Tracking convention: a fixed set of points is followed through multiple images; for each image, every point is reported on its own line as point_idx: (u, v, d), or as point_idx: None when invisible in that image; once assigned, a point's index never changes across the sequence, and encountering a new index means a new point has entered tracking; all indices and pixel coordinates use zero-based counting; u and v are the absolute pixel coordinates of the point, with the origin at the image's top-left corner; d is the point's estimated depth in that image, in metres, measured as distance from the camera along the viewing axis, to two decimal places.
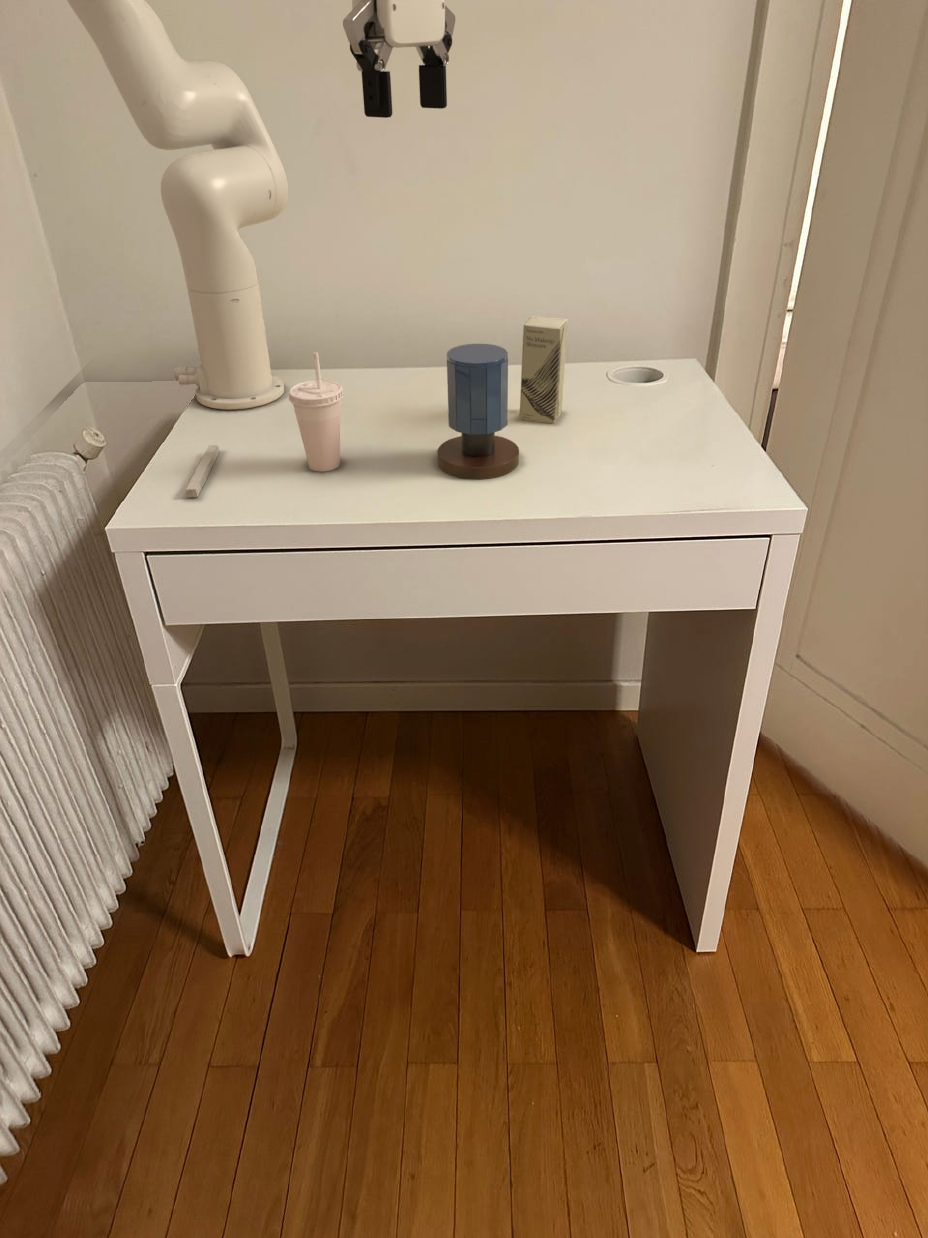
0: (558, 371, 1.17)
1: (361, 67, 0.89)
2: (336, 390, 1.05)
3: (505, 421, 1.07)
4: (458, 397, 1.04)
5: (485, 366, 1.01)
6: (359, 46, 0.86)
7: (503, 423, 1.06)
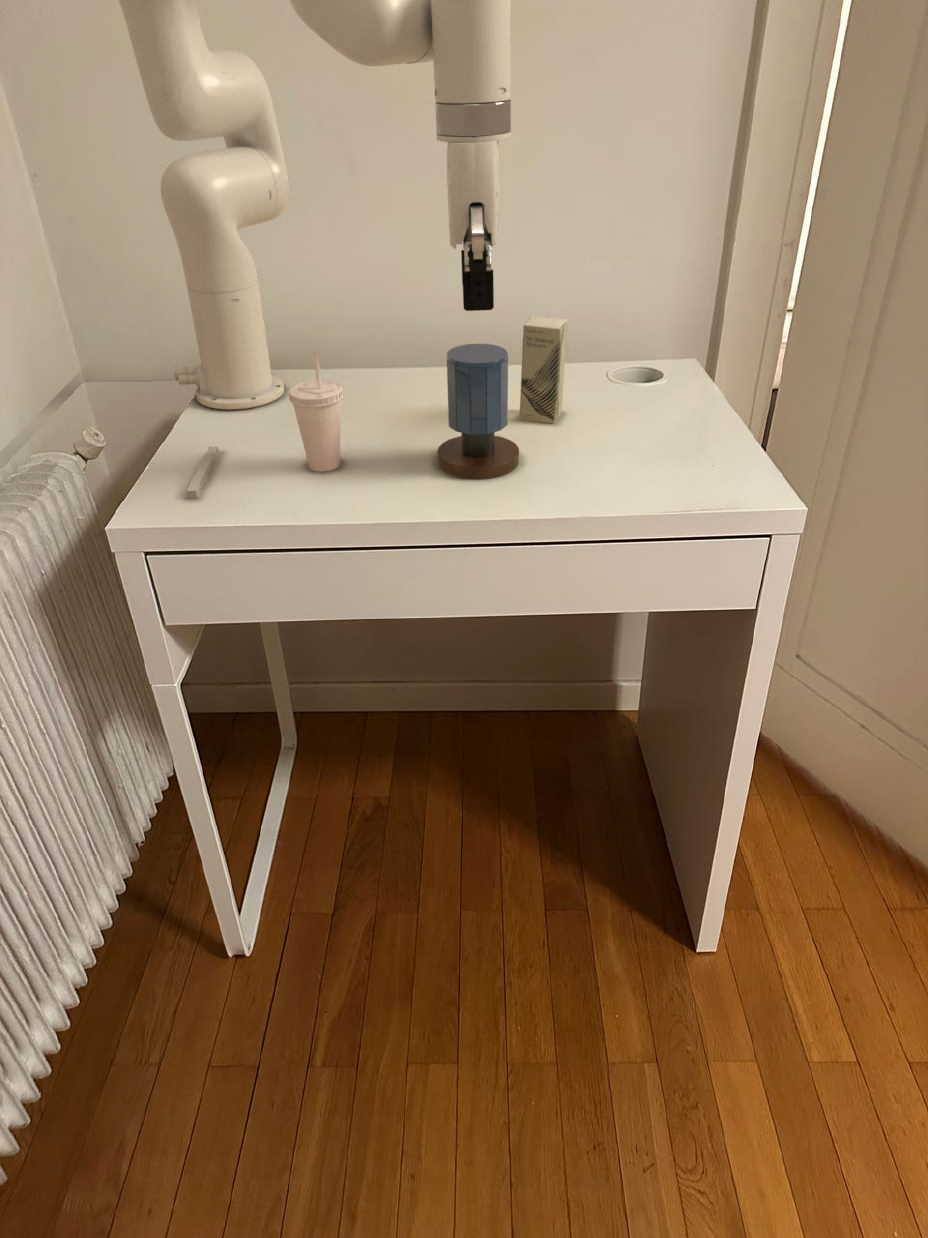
0: (558, 371, 1.17)
1: (470, 270, 0.92)
2: (336, 390, 1.05)
3: (505, 421, 1.07)
4: (458, 397, 1.04)
5: (485, 366, 1.01)
6: (482, 254, 0.90)
7: (503, 423, 1.06)
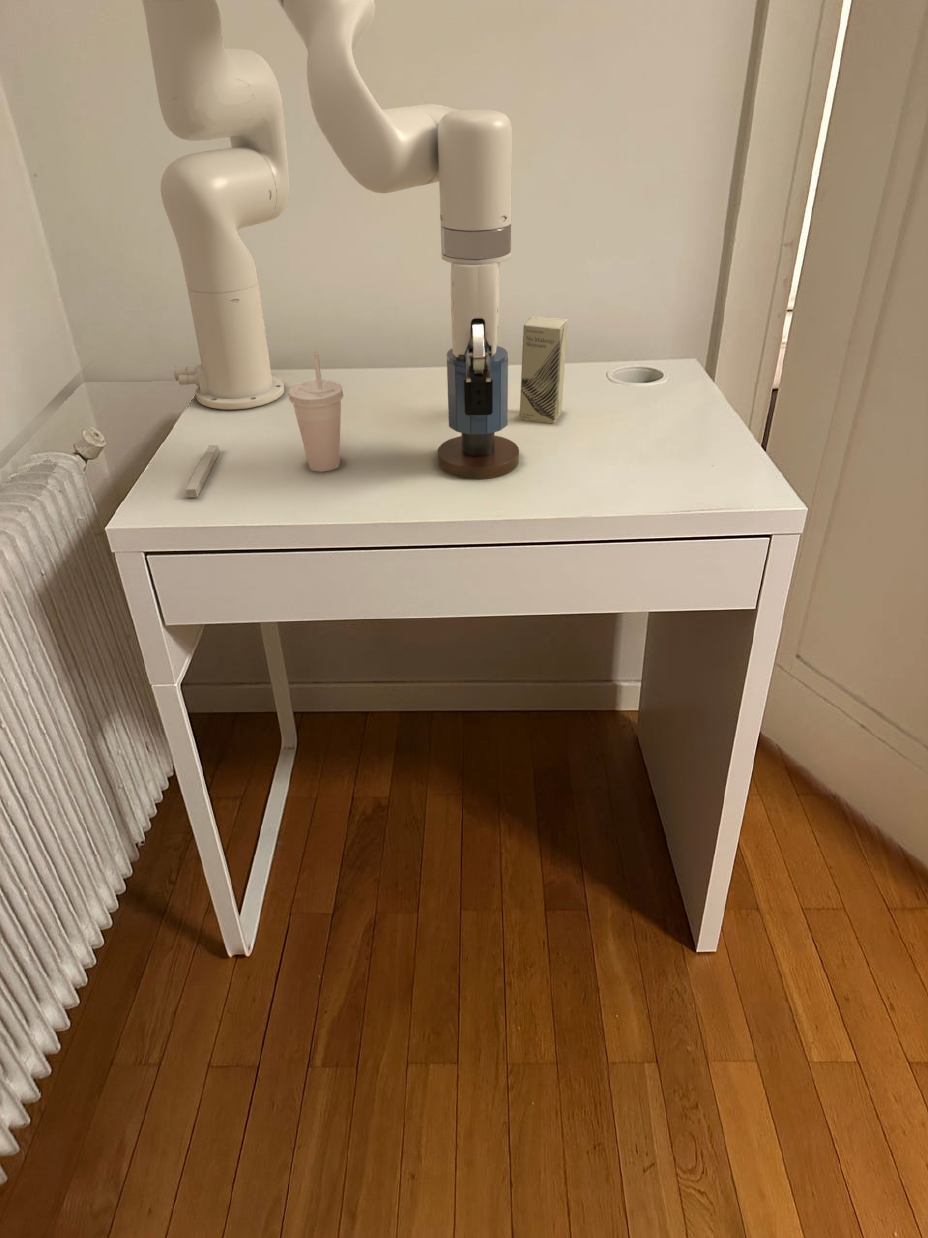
0: (558, 371, 1.17)
1: (471, 381, 1.00)
2: (336, 390, 1.05)
3: (505, 421, 1.07)
4: (458, 397, 1.03)
5: None
6: (483, 371, 0.98)
7: (503, 423, 1.06)
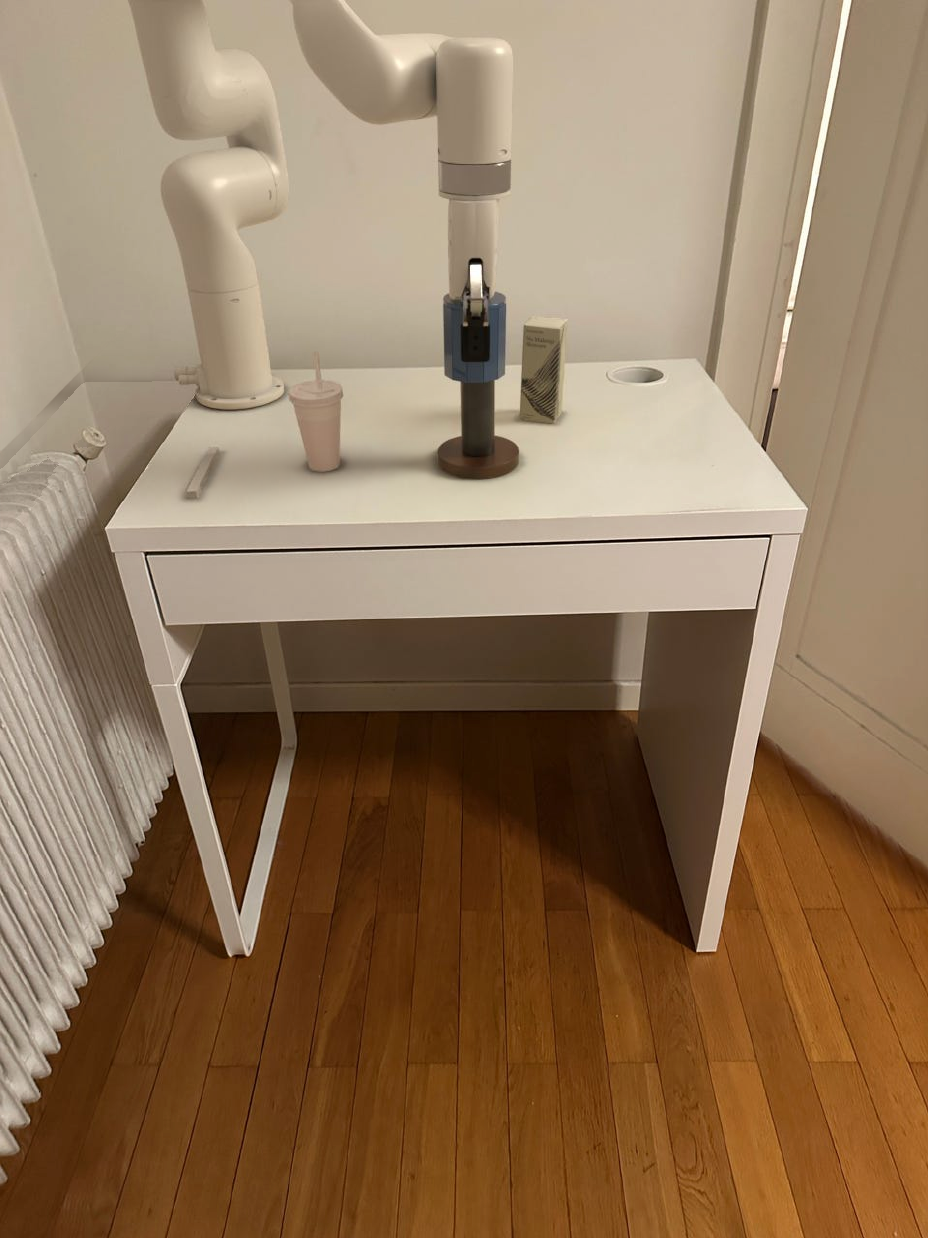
0: (558, 371, 1.17)
1: (468, 325, 0.97)
2: (336, 390, 1.05)
3: (503, 370, 1.03)
4: (454, 343, 1.00)
5: None
6: (480, 313, 0.94)
7: (500, 371, 1.03)
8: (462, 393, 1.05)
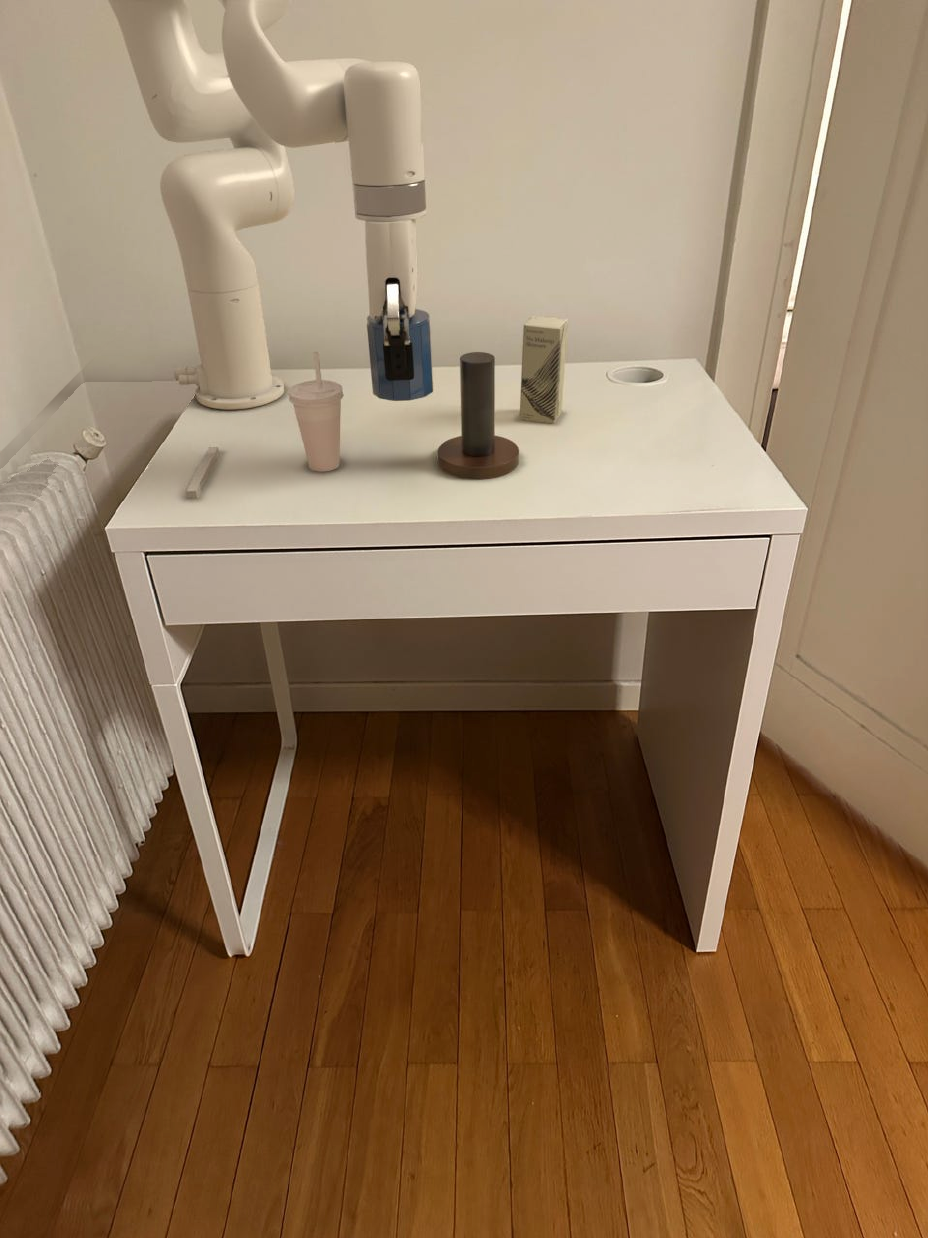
0: (558, 371, 1.17)
1: (389, 344, 0.97)
2: (336, 390, 1.05)
3: (430, 387, 1.04)
4: (379, 361, 1.01)
5: None
6: (399, 332, 0.95)
7: (427, 389, 1.03)
8: (462, 393, 1.05)
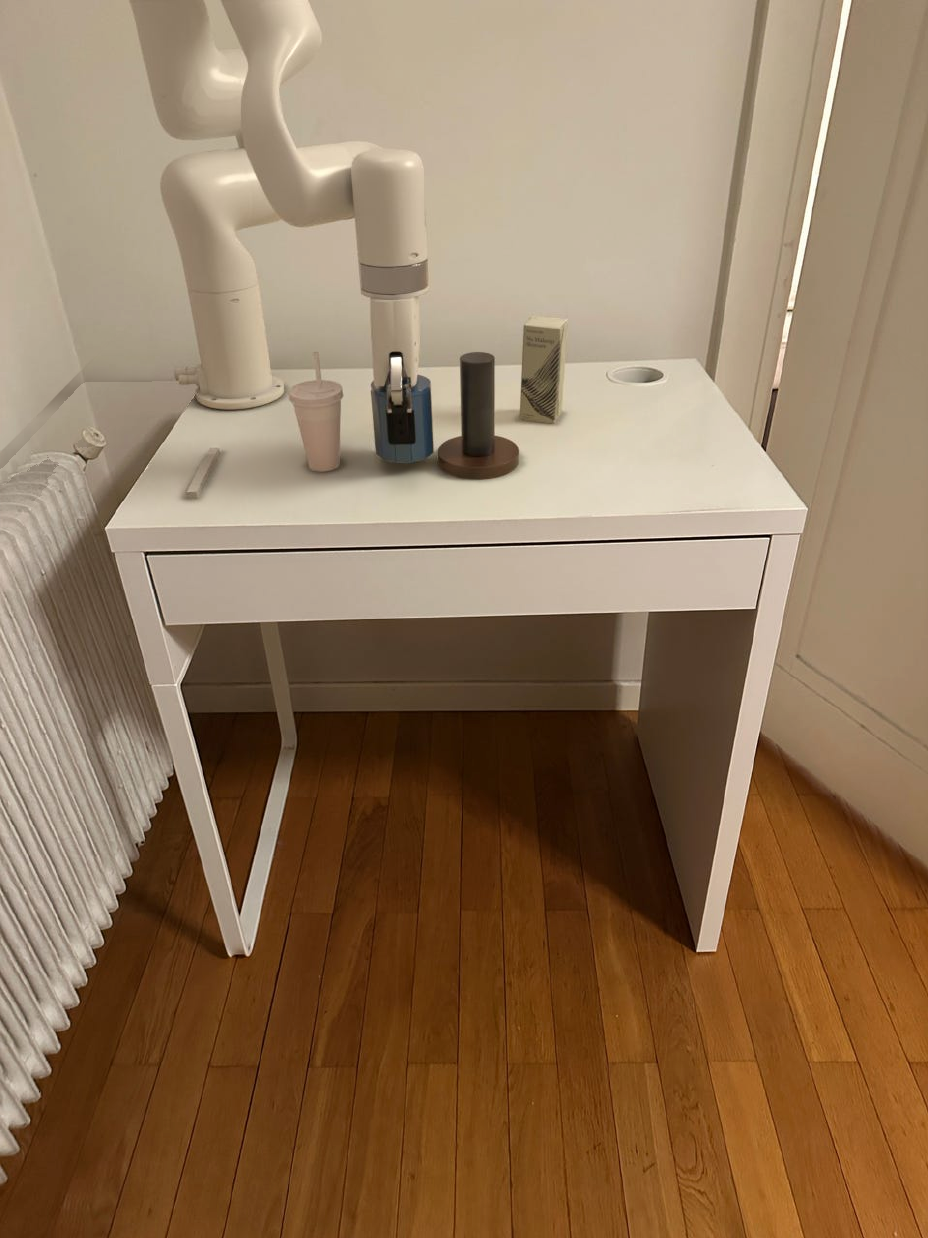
0: (558, 371, 1.17)
1: (392, 412, 1.02)
2: (336, 390, 1.05)
3: (431, 449, 1.09)
4: (382, 426, 1.05)
5: None
6: (402, 402, 1.00)
7: (428, 451, 1.08)
8: (462, 393, 1.05)
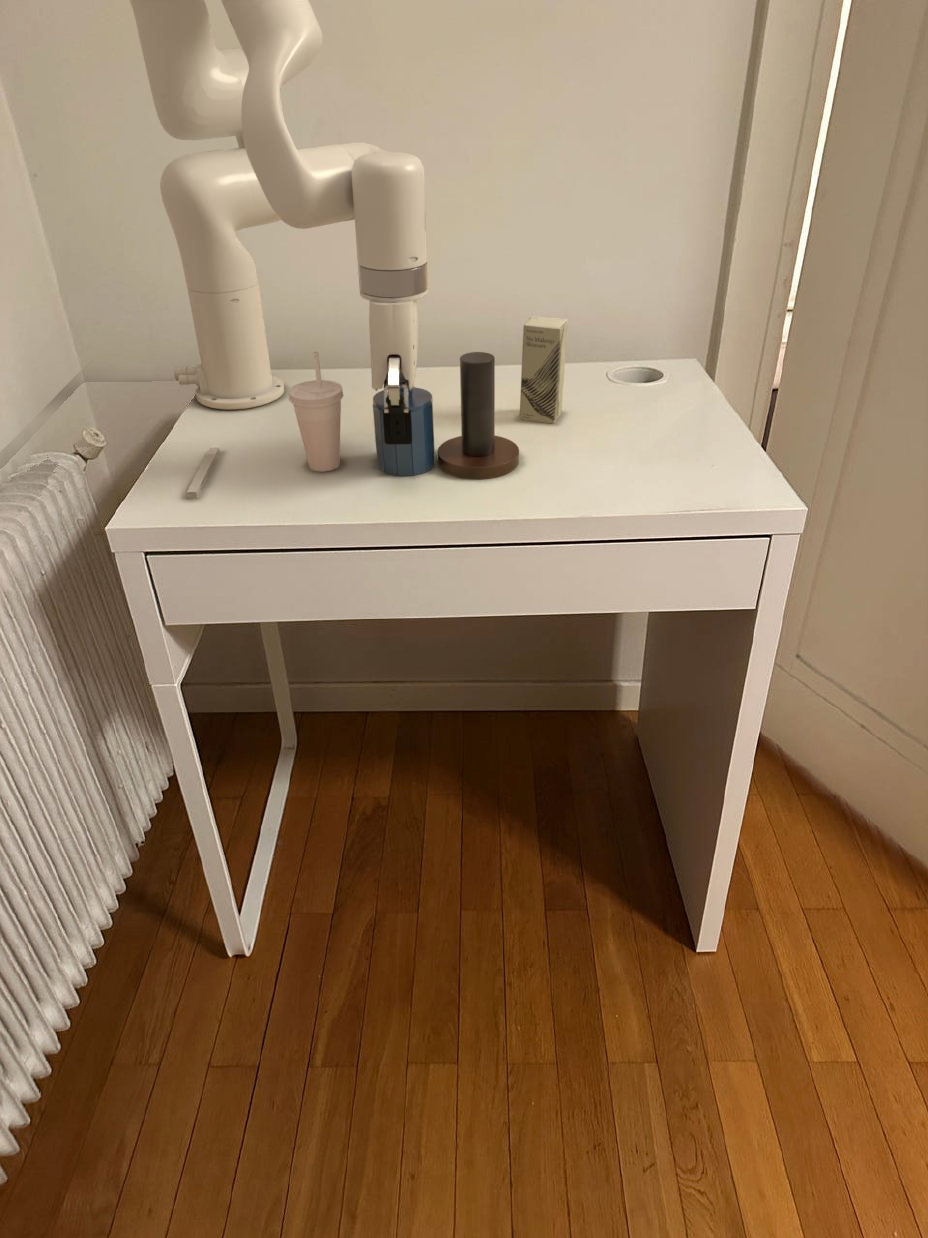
0: (558, 371, 1.17)
1: (389, 412, 1.01)
2: (336, 390, 1.05)
3: (432, 462, 1.09)
4: None
5: None
6: (399, 401, 0.99)
7: (429, 464, 1.09)
8: (462, 393, 1.05)
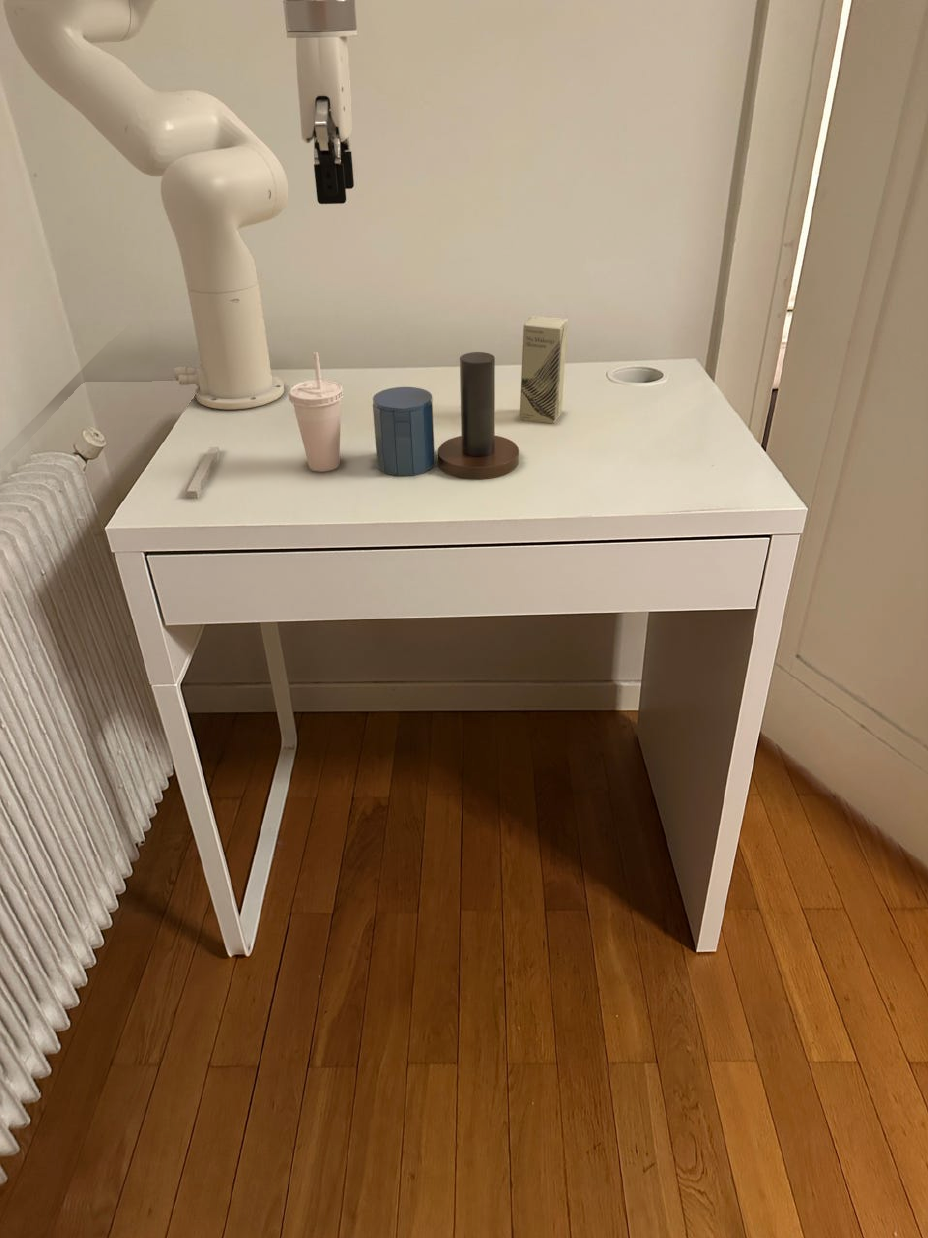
0: (558, 371, 1.17)
1: (320, 162, 0.98)
2: (336, 390, 1.05)
3: (432, 462, 1.09)
4: (384, 439, 1.06)
5: (409, 411, 1.04)
6: (327, 145, 0.96)
7: (429, 464, 1.09)
8: (462, 393, 1.05)
